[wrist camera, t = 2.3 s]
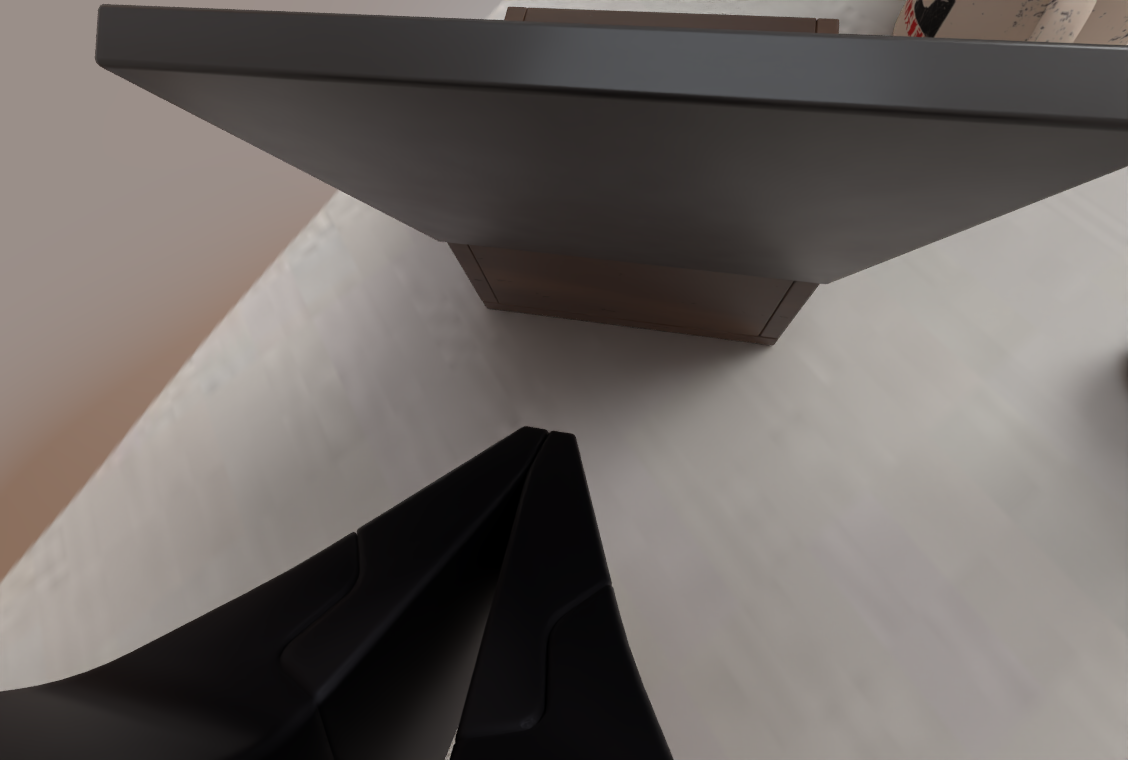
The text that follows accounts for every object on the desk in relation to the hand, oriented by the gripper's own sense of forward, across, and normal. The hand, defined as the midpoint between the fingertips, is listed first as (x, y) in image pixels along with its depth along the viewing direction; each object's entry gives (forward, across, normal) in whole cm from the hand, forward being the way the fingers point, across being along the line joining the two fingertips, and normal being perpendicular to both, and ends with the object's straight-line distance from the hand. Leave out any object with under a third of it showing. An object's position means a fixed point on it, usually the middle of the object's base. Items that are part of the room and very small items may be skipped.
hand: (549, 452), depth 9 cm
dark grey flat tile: (+5, 0, -3) cm, 6 cm away
